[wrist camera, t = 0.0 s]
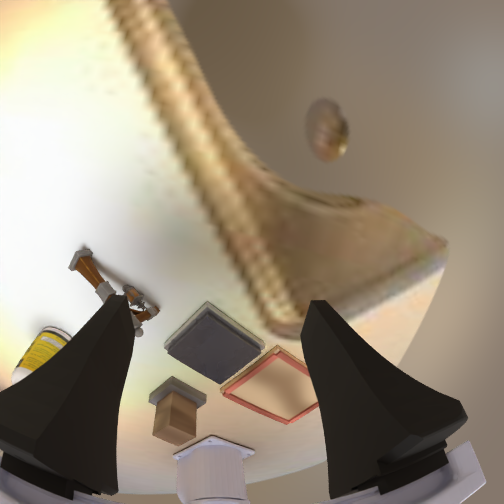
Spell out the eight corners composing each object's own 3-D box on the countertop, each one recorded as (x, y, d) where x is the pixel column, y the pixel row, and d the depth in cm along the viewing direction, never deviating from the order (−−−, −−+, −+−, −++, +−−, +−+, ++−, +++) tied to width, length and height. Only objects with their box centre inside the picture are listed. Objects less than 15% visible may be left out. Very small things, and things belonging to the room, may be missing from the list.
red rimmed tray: (286, 420, 30) (288, 425, 29) (220, 388, 26) (220, 394, 26) (338, 385, 28) (340, 390, 28) (277, 345, 25) (278, 350, 24)
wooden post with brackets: (160, 327, 22) (130, 347, 17) (101, 261, 23) (66, 268, 18) (171, 313, 21) (141, 332, 17) (110, 246, 22) (74, 251, 18)
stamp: (182, 410, 27) (180, 450, 22) (149, 393, 26) (142, 434, 21) (206, 394, 27) (206, 436, 21) (172, 375, 25) (166, 419, 20)
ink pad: (219, 376, 26) (220, 387, 24) (164, 342, 23) (162, 353, 22) (263, 341, 24) (266, 352, 23) (207, 301, 22) (206, 311, 21)
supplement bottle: (40, 316, 21) (-7, 381, 12) (84, 340, 23) (48, 415, 14) (40, 351, 23) (4, 413, 14) (80, 372, 24) (52, 441, 15)
